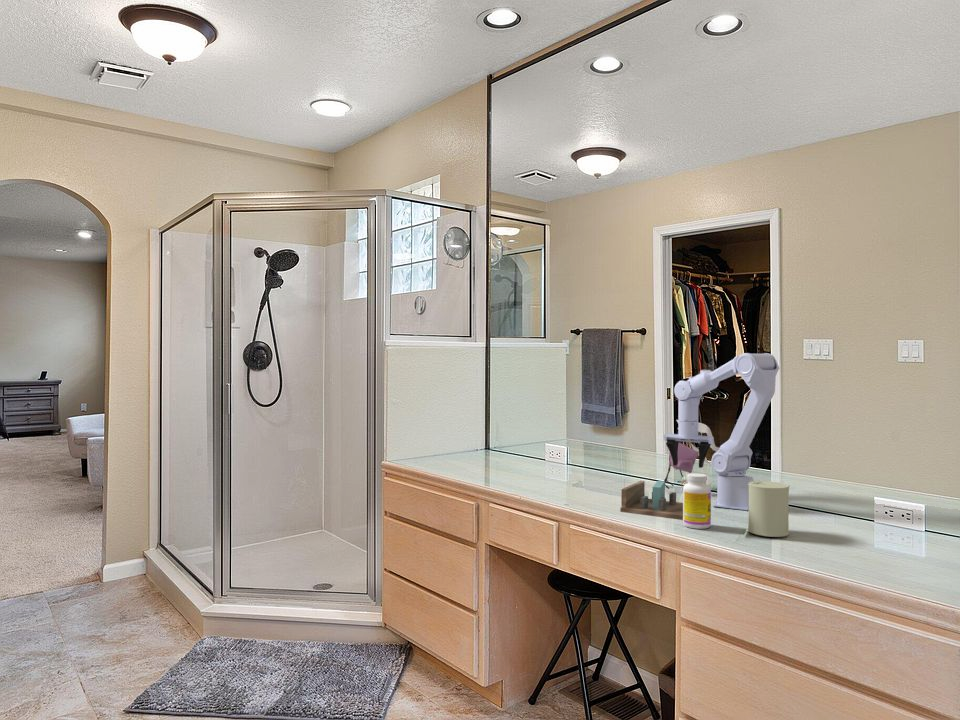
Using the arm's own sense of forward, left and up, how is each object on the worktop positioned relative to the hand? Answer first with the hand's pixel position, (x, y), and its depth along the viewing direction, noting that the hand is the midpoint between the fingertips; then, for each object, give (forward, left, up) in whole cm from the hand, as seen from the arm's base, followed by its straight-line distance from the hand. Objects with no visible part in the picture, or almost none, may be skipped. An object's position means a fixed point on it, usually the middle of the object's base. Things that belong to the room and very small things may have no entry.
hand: (688, 466), depth 206 cm
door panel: (+2, +21, -8) cm, 22 cm away
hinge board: (+1, +21, -9) cm, 23 cm away
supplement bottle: (-12, +34, -10) cm, 37 cm away
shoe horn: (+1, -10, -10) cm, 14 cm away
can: (-28, +30, -10) cm, 42 cm away
